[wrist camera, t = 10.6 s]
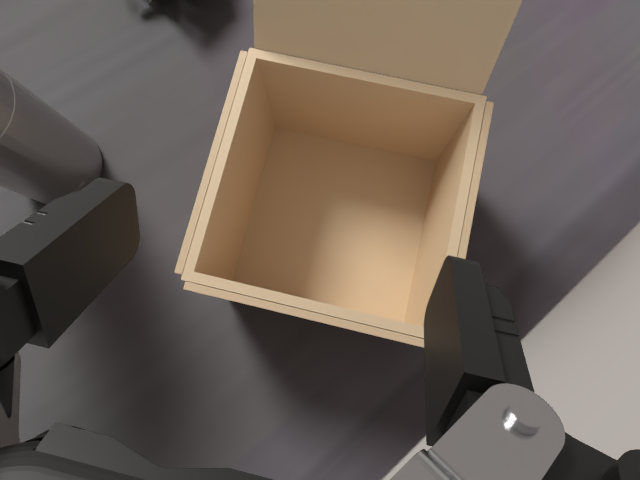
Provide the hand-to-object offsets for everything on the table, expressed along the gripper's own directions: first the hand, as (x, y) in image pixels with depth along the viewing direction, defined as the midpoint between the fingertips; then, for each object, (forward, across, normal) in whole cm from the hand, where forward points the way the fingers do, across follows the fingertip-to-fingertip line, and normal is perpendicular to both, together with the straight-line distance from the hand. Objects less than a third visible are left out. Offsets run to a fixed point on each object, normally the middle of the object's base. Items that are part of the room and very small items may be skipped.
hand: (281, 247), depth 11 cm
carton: (+32, 0, +19) cm, 37 cm away
